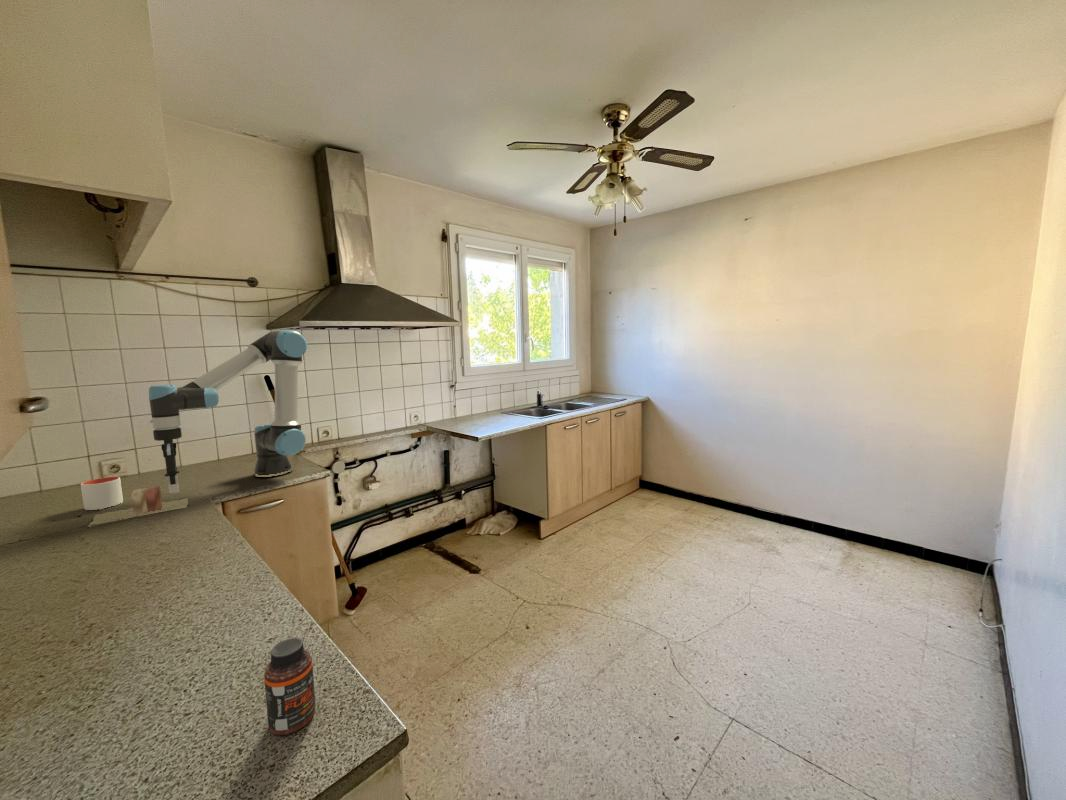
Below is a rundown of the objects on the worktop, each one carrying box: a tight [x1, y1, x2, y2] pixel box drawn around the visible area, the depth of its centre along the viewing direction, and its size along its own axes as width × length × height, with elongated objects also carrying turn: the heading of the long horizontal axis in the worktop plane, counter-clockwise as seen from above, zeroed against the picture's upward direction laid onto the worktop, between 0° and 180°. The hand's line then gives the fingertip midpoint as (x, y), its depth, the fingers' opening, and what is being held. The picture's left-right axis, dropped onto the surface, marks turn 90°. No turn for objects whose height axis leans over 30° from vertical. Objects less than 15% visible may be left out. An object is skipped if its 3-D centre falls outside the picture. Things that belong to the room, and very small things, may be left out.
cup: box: [80, 476, 124, 511], centre depth 152 cm, size 10×10×10 cm
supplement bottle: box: [263, 637, 316, 736], centre depth 60 cm, size 6×6×11 cm
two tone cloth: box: [130, 485, 163, 514], centre depth 147 cm, size 7×7×7 cm
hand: (174, 492), depth 151 cm, fingers closed
